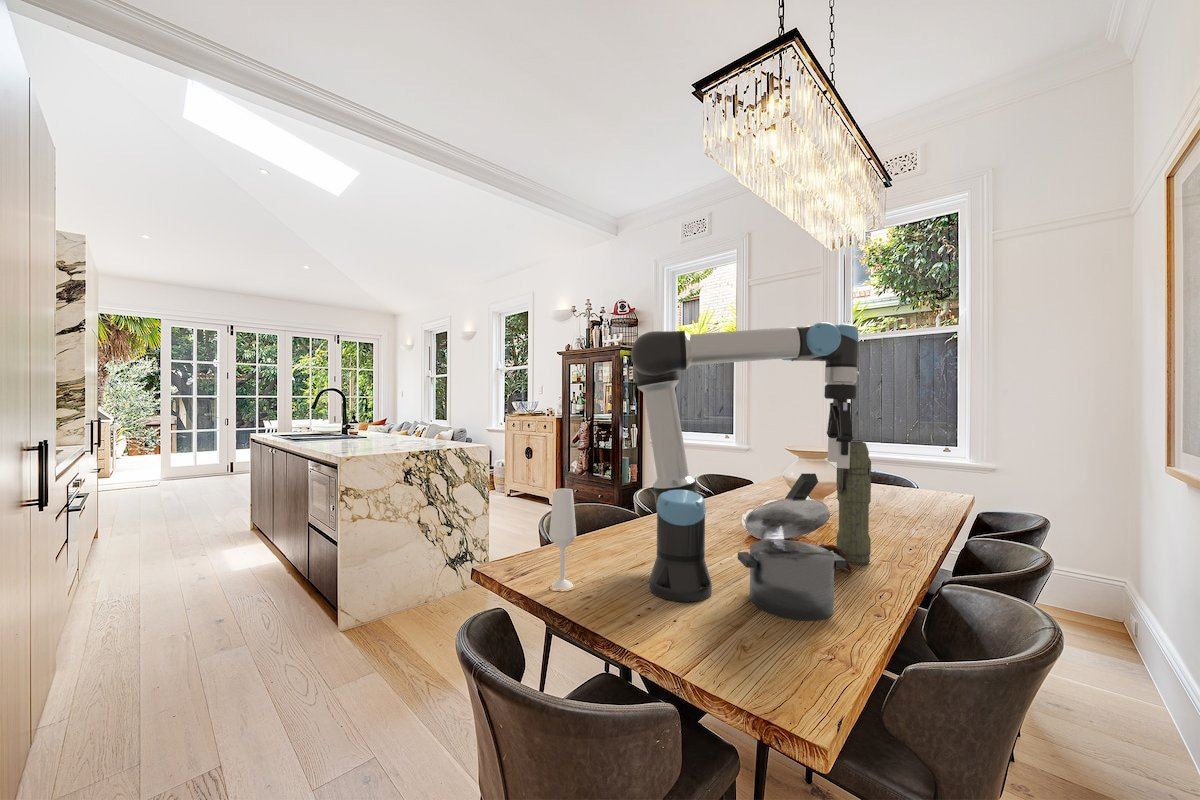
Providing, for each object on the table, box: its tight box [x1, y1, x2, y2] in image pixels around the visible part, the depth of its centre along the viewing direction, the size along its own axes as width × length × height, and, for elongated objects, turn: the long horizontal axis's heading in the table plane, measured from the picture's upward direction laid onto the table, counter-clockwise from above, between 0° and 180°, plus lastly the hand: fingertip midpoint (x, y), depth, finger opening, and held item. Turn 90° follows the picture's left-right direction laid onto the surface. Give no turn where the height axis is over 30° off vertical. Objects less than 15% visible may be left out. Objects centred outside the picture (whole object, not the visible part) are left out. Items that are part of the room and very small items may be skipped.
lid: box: [744, 473, 831, 540], centre depth 112 cm, size 19×26×3 cm
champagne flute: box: [548, 487, 577, 589], centre depth 119 cm, size 7×7×24 cm
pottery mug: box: [818, 543, 853, 574], centre depth 133 cm, size 12×10×8 cm
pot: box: [737, 538, 846, 622], centre depth 113 cm, size 23×21×12 cm
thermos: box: [836, 439, 872, 565], centre depth 142 cm, size 9×12×35 cm
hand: (837, 464), depth 127 cm, fingers open, 13 cm apart
